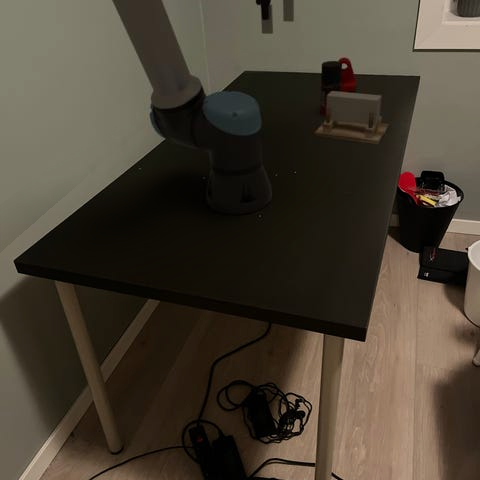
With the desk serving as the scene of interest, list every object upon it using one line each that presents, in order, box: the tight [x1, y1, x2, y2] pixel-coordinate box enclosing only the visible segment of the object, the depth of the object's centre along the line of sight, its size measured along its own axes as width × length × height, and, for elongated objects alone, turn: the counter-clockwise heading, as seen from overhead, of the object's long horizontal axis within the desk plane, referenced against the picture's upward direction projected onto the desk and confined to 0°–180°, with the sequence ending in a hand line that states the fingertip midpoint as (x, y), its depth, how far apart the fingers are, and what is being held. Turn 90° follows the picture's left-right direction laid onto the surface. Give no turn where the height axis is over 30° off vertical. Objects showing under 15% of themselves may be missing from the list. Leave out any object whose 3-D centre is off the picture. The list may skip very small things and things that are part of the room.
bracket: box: [337, 56, 357, 93], centre depth 163 cm, size 9×6×10 cm
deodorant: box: [320, 60, 343, 117], centre depth 145 cm, size 6×6×15 cm
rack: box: [314, 108, 390, 145], centre depth 135 cm, size 12×18×8 cm, turn 63°
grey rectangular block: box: [327, 91, 382, 126], centre depth 133 cm, size 4×14×7 cm, turn 62°
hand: (278, 27), depth 124 cm, fingers open, 13 cm apart
